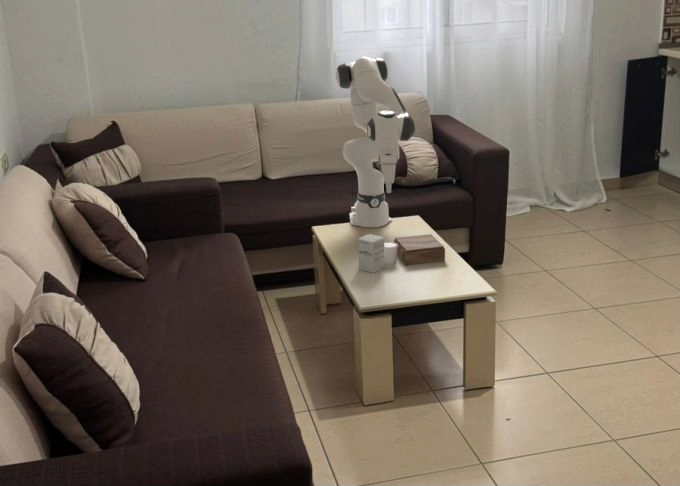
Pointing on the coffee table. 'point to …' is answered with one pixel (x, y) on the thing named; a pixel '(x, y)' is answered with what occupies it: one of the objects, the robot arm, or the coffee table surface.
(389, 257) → the white cylinder
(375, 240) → the supplement box
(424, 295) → the coffee table surface
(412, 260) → the walnut box
